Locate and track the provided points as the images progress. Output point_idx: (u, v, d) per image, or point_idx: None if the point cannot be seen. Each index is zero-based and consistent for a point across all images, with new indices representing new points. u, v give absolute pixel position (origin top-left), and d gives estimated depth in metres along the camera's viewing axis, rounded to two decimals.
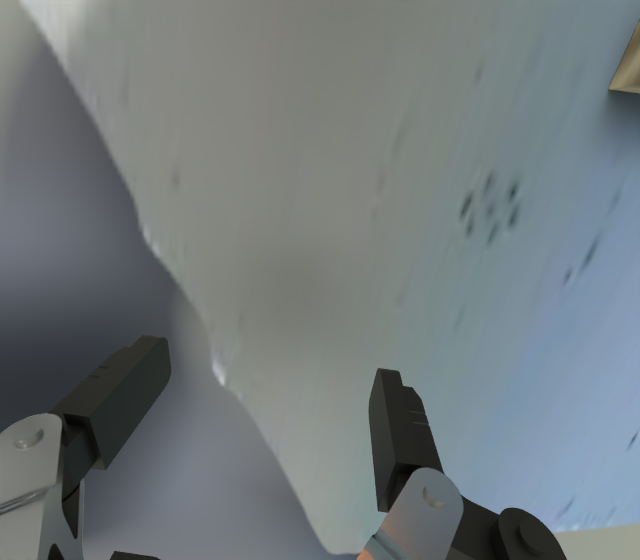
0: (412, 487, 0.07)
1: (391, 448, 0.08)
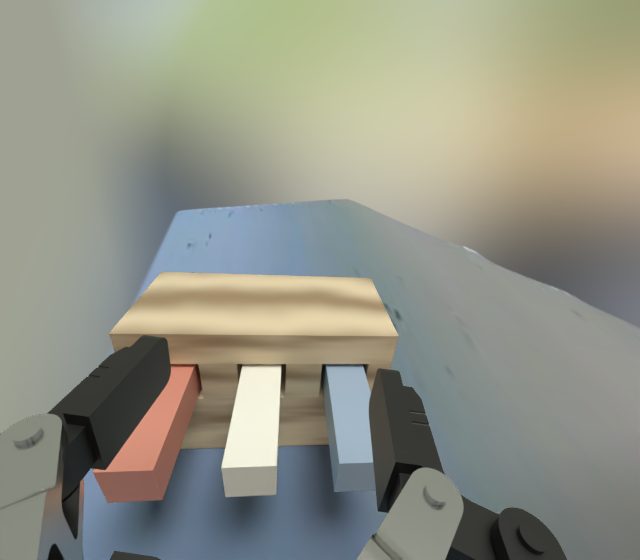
0: (412, 487, 0.07)
1: (391, 448, 0.08)
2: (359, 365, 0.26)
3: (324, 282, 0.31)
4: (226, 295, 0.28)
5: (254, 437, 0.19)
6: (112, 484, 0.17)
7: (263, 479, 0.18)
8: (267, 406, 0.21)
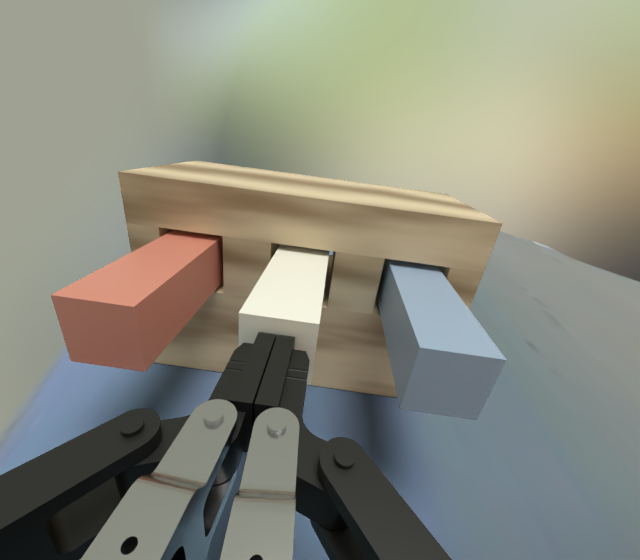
0: (258, 421, 0.08)
1: (258, 395, 0.09)
2: (435, 270, 0.18)
3: (388, 188, 0.25)
4: (266, 177, 0.22)
5: (289, 296, 0.13)
6: (77, 325, 0.12)
7: (296, 349, 0.12)
8: (309, 276, 0.15)
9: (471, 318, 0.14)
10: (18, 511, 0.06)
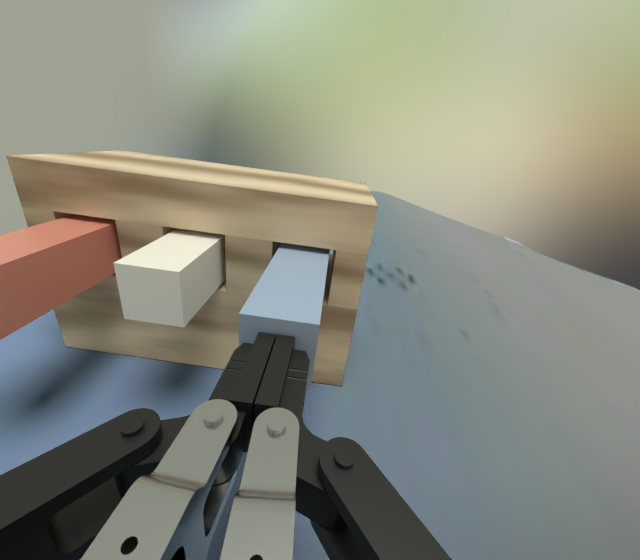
0: (258, 421, 0.08)
1: (258, 394, 0.09)
2: (324, 252, 0.19)
3: (305, 176, 0.25)
4: (176, 165, 0.22)
5: (168, 254, 0.16)
6: None
7: (165, 295, 0.15)
8: (199, 242, 0.18)
9: (319, 291, 0.14)
10: (18, 511, 0.06)
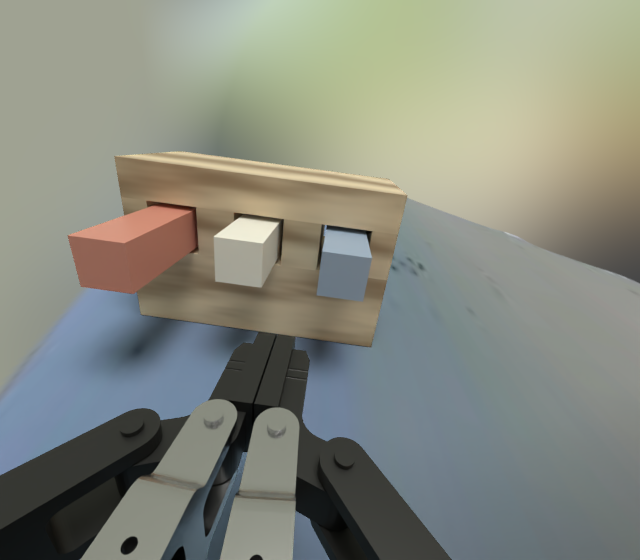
0: (258, 421, 0.08)
1: (258, 395, 0.09)
2: None
3: (338, 173, 0.30)
4: (235, 163, 0.27)
5: (248, 232, 0.21)
6: (85, 258, 0.17)
7: (250, 261, 0.20)
8: (265, 224, 0.23)
9: (365, 244, 0.21)
10: (18, 511, 0.06)
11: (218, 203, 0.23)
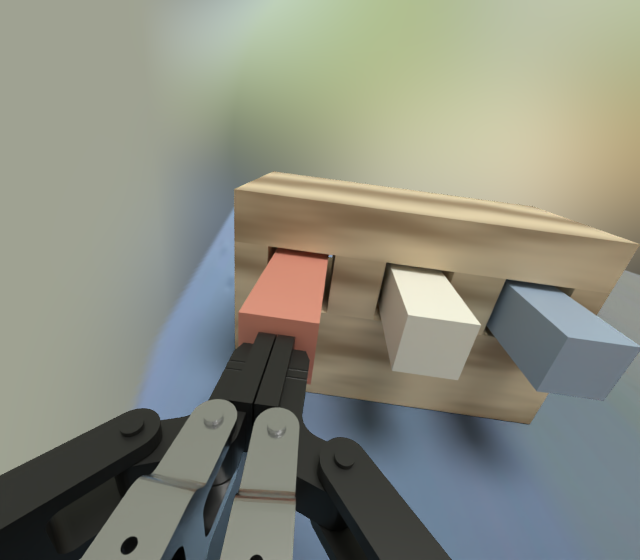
0: (258, 421, 0.08)
1: (258, 395, 0.09)
2: None
3: (476, 200, 0.24)
4: (361, 191, 0.21)
5: (435, 299, 0.15)
6: None
7: (453, 348, 0.14)
8: (435, 281, 0.17)
9: (589, 313, 0.15)
10: (18, 511, 0.06)
11: (367, 251, 0.17)
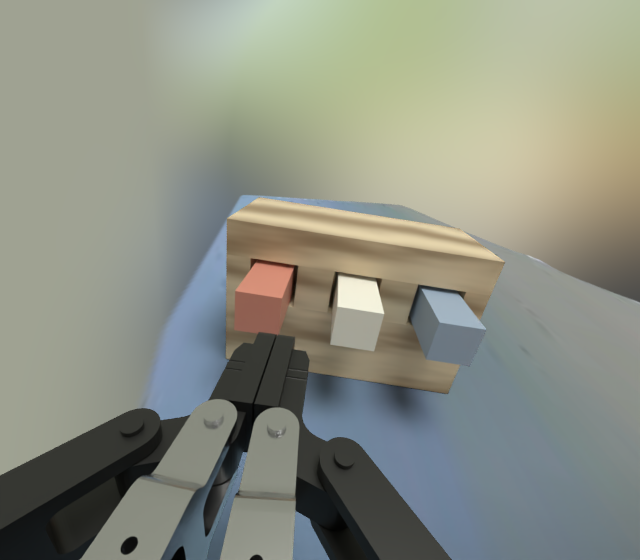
0: (258, 421, 0.08)
1: (258, 395, 0.09)
2: None
3: (414, 224, 0.31)
4: (323, 216, 0.28)
5: (360, 297, 0.22)
6: (245, 308, 0.21)
7: (368, 329, 0.21)
8: (367, 285, 0.24)
9: (467, 308, 0.23)
10: (18, 511, 0.06)
11: (321, 263, 0.24)
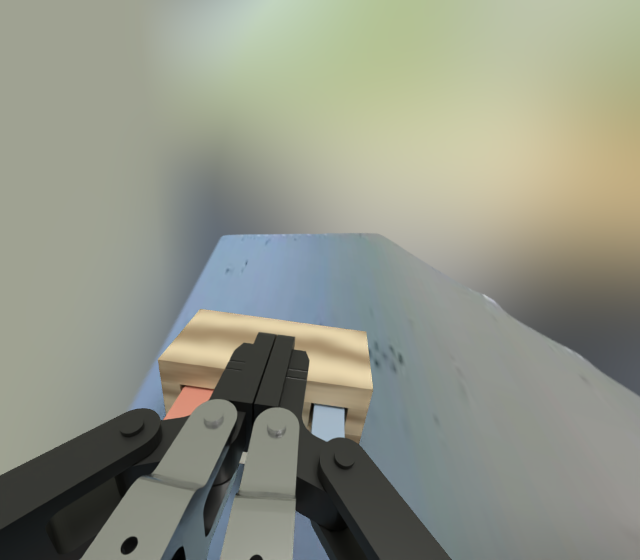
0: (258, 421, 0.08)
1: (258, 395, 0.09)
2: None
3: (325, 331, 0.38)
4: (245, 336, 0.35)
5: None
6: None
7: None
8: None
9: (342, 428, 0.29)
10: (18, 511, 0.06)
11: None
